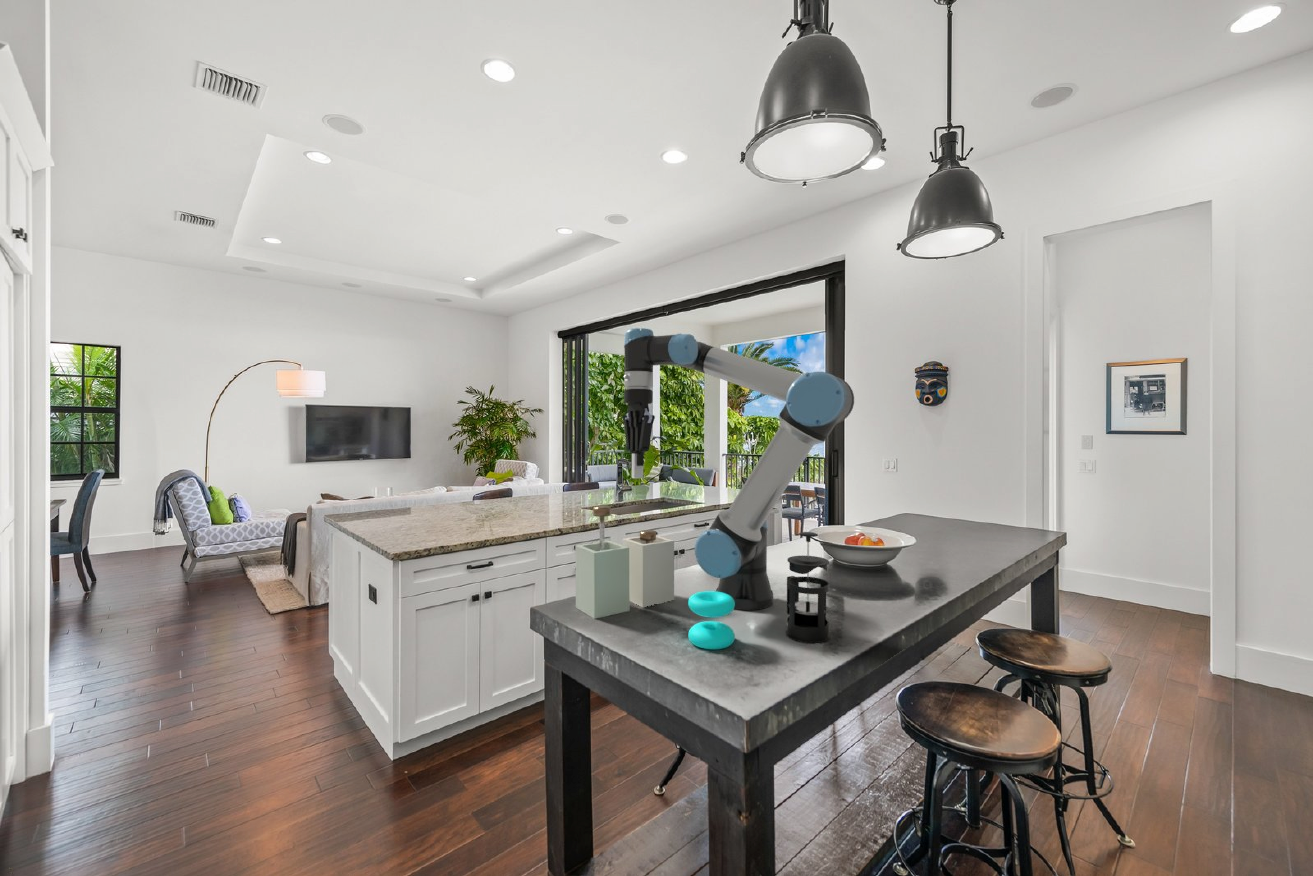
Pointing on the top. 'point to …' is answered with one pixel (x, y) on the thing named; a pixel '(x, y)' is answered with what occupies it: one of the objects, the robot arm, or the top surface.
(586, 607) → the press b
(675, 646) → the top surface
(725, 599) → the donuts
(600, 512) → the plunger
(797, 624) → the french press
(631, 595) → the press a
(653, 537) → the plunger
